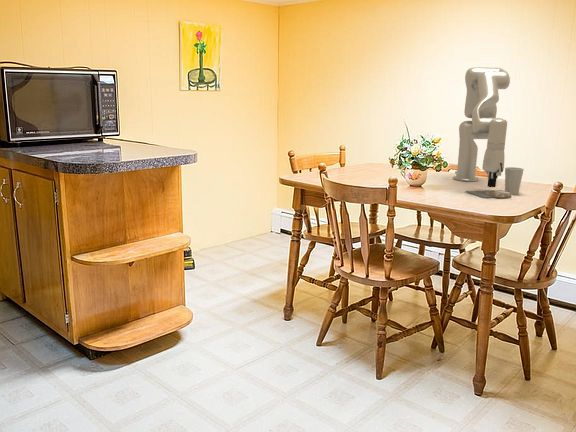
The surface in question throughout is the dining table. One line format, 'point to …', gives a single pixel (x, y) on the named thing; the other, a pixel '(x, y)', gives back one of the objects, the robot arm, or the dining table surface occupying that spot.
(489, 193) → the tile
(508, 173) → the cup
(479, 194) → the mat
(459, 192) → the dining table surface
